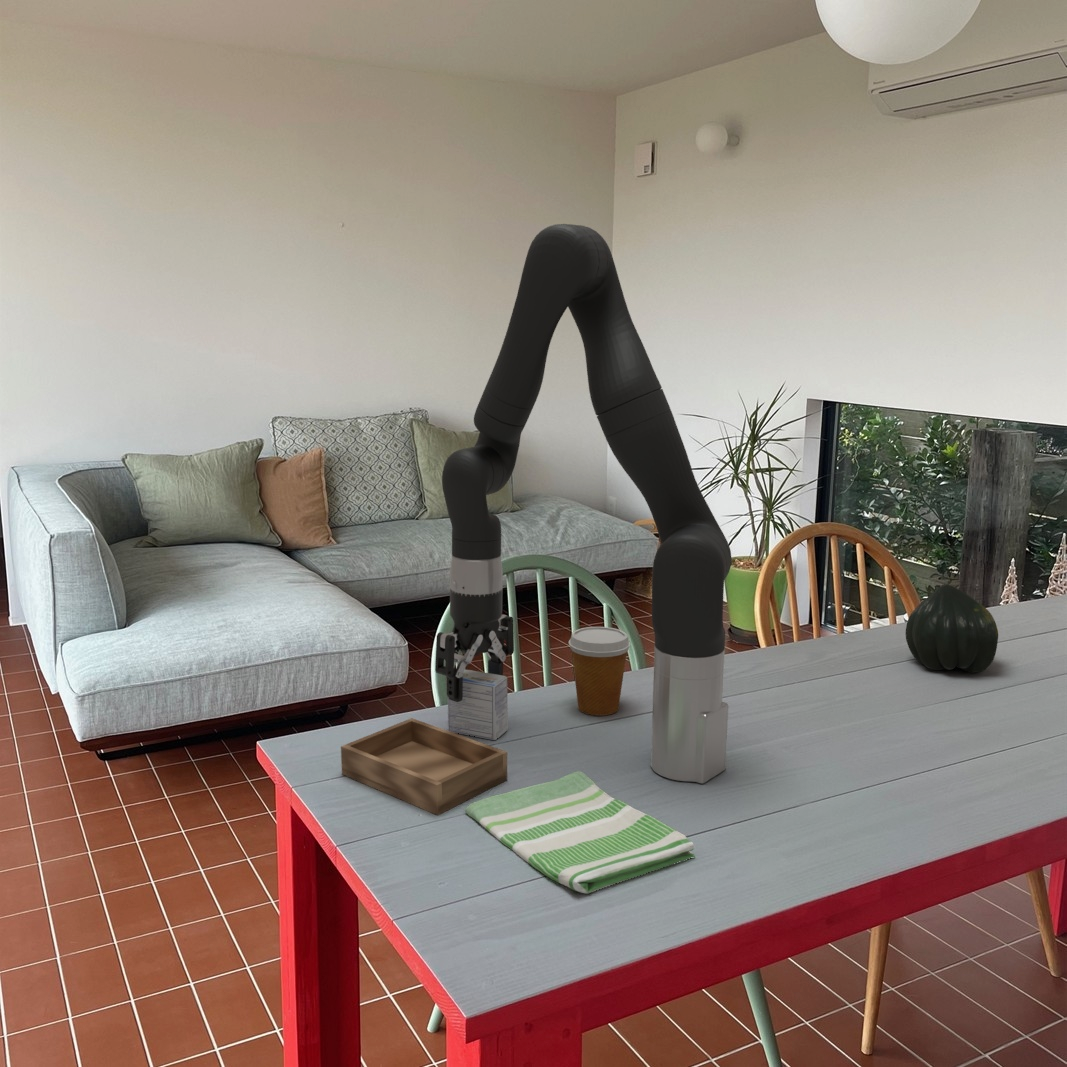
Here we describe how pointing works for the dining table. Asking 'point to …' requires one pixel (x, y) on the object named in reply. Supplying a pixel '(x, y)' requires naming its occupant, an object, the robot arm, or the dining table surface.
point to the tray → (424, 765)
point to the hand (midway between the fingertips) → (475, 692)
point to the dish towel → (580, 833)
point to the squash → (952, 632)
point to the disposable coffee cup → (599, 668)
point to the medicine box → (480, 706)
